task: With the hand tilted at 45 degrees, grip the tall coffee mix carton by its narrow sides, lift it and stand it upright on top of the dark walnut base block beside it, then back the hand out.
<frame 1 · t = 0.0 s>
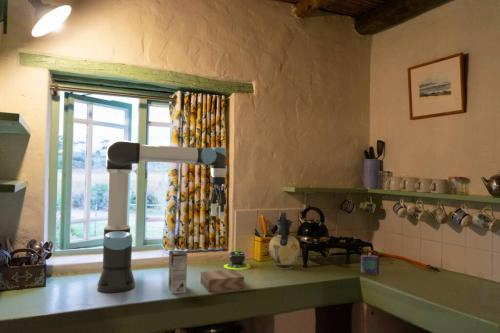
hand: (217, 217, 185), 28 cm above the worktop, tool pointing down, fingers open, 13 cm apart
toy cauldron: (237, 267, 196), on the worktop
amphora: (283, 267, 195), on the worktop
walnut base: (221, 285, 159), on the worktop
flask: (369, 273, 185), on the worktop
coffee box: (177, 290, 151), on the worktop
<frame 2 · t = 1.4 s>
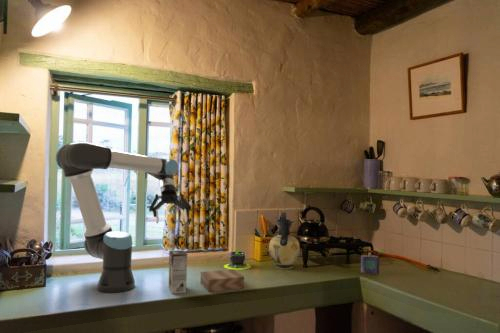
hand: (172, 221, 169), 27 cm above the worktop, tool tilted 45°, fingers open, 13 cm apart
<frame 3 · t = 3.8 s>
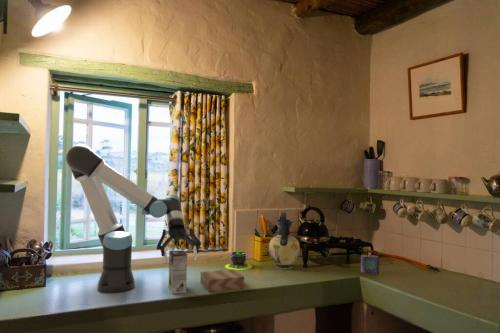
hand: (181, 261, 157), 11 cm above the worktop, tool tilted 45°, fingers open, 13 cm apart
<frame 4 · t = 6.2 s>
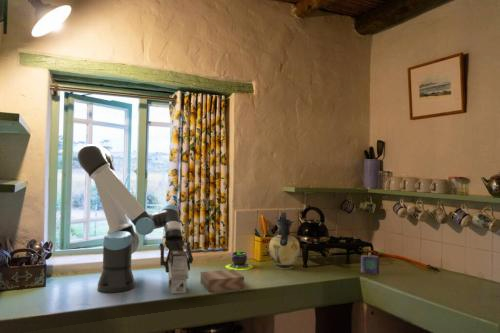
hand: (179, 277, 148), 6 cm above the worktop, tool tilted 45°, fingers closed on coffee box, 6 cm apart
coffee box: (177, 290, 151), on the worktop, touching gripper
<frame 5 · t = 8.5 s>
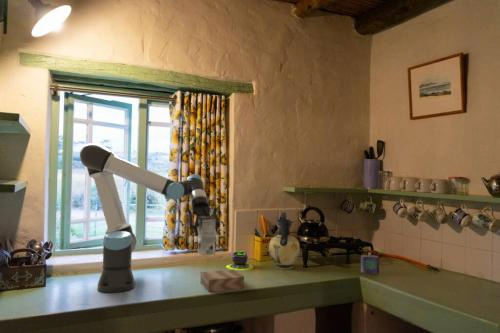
hand: (208, 240, 153), 21 cm above the worktop, tool tilted 45°, fingers closed on coffee box, 6 cm apart
coffee box: (206, 253, 156), point 15 cm above the worktop, touching gripper
when the fingers open (12 cm above the worktop, at t = 11.2 s): coffee box drops 1 cm, resting on walnut base.
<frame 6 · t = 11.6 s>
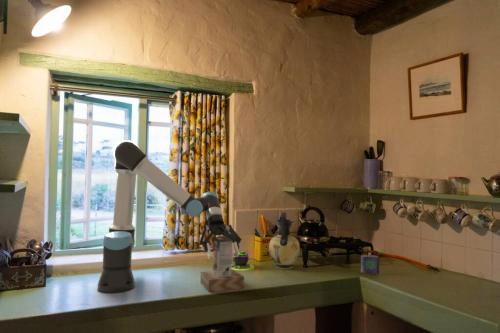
hand: (224, 256, 157), 14 cm above the worktop, tool tilted 45°, fingers open, 12 cm apart
coffee box: (221, 274, 159), point 5 cm above the worktop, touching walnut base
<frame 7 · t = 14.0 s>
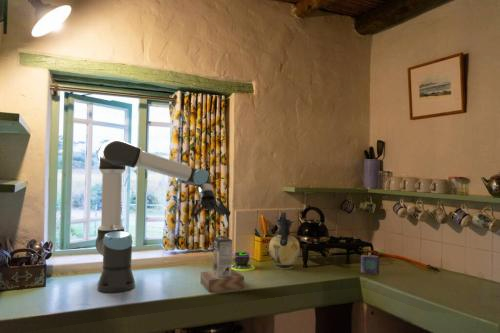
hand: (213, 226, 171), 25 cm above the worktop, tool tilted 45°, fingers open, 13 cm apart
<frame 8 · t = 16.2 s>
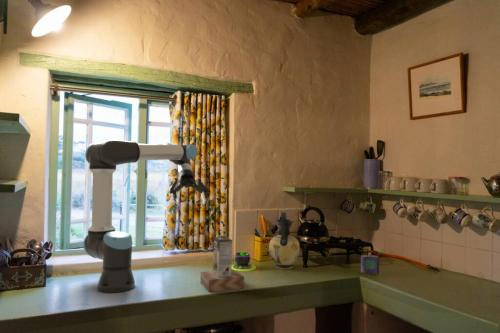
hand: (191, 202, 180), 36 cm above the worktop, tool tilted 45°, fingers open, 13 cm apart
at the end: coffee box inside the target area on the walnut base (0.1 cm from its centre), point 4.8 cm above the walnut base's base; coffee box tilted 0°; the gripper is holding nothing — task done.
